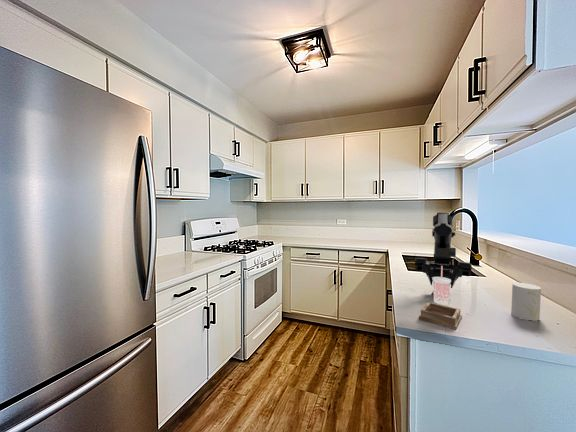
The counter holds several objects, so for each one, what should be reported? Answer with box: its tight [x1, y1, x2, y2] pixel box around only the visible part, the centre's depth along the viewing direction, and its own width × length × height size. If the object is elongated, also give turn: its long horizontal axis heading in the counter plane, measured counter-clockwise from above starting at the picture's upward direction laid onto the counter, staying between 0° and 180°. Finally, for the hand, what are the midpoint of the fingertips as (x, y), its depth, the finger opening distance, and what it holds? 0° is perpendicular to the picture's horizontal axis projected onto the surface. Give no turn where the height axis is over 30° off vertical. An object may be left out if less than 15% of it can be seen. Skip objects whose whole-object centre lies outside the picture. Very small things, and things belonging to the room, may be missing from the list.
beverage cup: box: [432, 266, 451, 306], centre depth 99 cm, size 6×6×14 cm
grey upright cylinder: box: [510, 282, 542, 322], centre depth 101 cm, size 8×8×12 cm
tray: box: [418, 301, 463, 330], centre depth 99 cm, size 12×12×4 cm
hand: (441, 286), depth 98 cm, fingers closed on beverage cup, 6 cm apart
